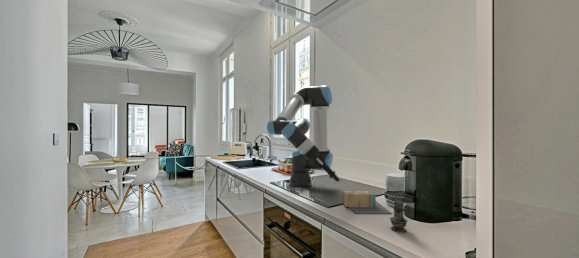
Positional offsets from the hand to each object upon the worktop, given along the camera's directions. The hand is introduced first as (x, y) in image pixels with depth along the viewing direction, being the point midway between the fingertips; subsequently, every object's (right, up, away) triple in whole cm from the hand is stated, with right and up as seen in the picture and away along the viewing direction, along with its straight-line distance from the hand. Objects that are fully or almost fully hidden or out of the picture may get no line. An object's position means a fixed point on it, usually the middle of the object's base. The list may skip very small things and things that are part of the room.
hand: (342, 185), depth 116 cm
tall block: (+1, -7, 0) cm, 7 cm away
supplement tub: (+27, -11, +3) cm, 29 cm away
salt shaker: (+14, -10, -28) cm, 33 cm away
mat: (+11, -10, 0) cm, 15 cm away
